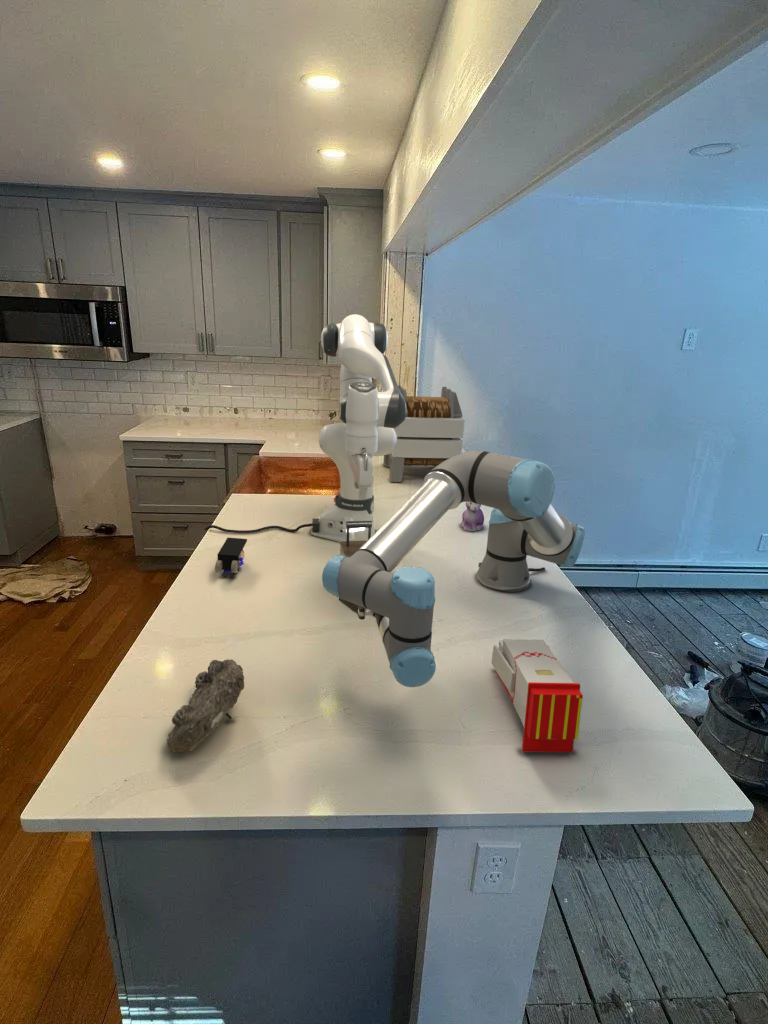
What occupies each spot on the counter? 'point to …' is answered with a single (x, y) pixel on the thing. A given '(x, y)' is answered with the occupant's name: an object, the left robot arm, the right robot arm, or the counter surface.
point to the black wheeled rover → (230, 556)
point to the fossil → (206, 705)
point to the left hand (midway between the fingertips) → (359, 493)
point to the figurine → (472, 517)
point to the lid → (354, 546)
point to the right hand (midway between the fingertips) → (379, 576)
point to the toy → (539, 694)
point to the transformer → (426, 432)
